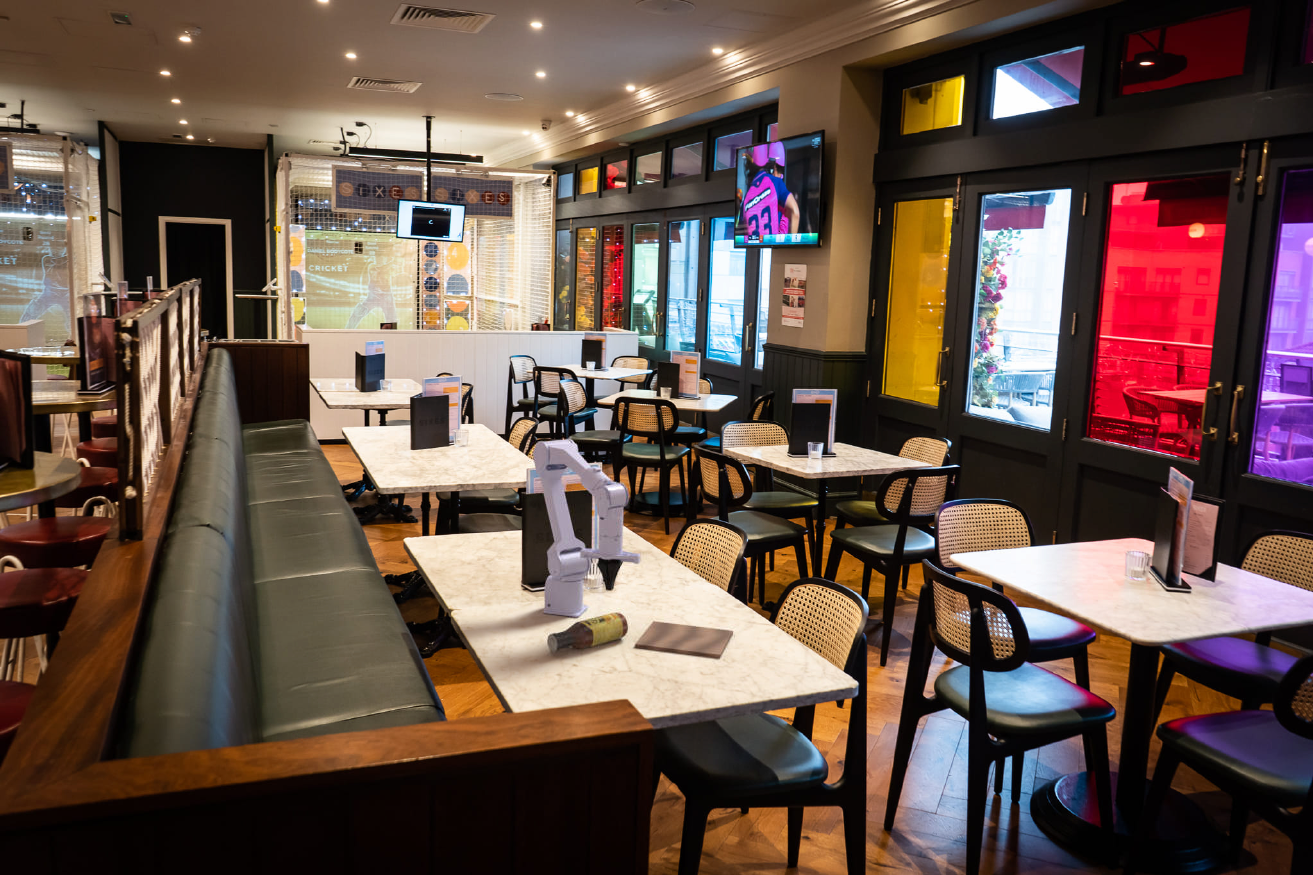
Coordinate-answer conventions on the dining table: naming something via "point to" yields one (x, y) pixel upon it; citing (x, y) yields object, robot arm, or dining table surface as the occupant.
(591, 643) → the sauce bottle
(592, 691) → the dining table surface
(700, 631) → the walnut board
